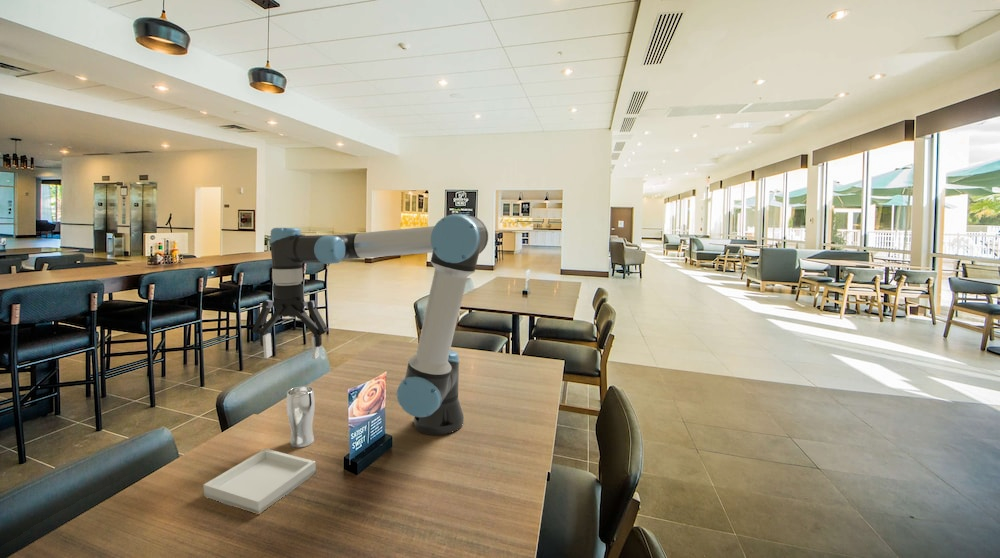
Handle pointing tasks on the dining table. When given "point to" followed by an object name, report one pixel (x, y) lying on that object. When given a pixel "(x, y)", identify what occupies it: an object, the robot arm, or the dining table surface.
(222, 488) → the tray
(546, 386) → the dining table surface
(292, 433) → the beer glass
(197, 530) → the dining table surface
